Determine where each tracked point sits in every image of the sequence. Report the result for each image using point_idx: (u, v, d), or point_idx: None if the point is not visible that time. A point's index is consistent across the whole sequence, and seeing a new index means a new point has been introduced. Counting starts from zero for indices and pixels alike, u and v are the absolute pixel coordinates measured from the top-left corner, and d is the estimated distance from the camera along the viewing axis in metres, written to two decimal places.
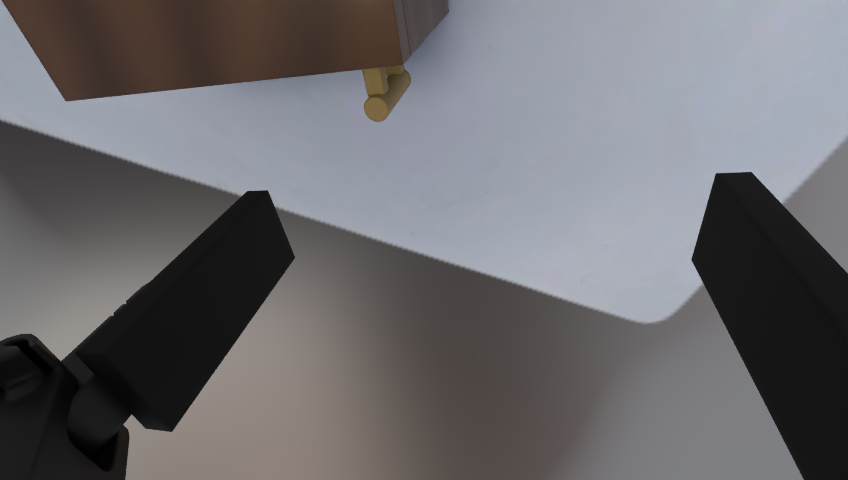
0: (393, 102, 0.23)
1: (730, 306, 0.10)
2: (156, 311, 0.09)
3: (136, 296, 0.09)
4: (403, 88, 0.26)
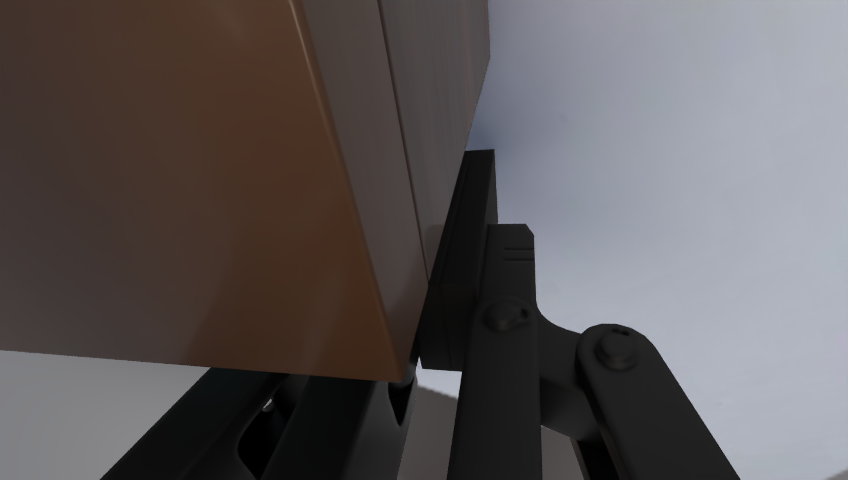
0: None
1: None
2: None
3: None
4: None
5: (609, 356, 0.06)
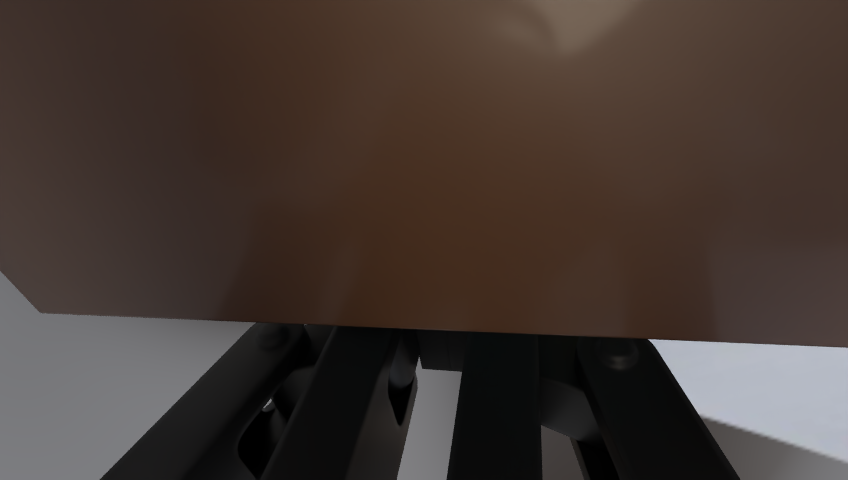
0: None
1: None
2: None
3: None
4: None
5: (609, 356, 0.06)
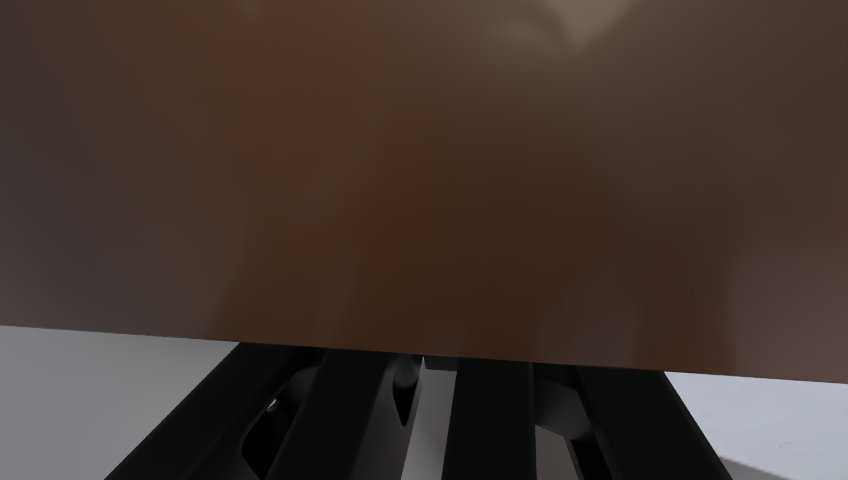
0: None
1: None
2: None
3: None
4: None
5: None
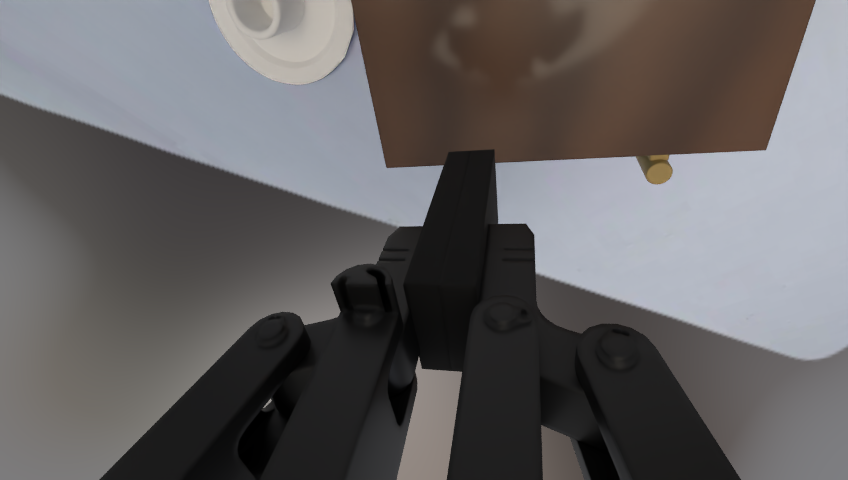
0: None
1: None
2: None
3: (420, 238, 0.10)
4: None
5: (609, 356, 0.06)
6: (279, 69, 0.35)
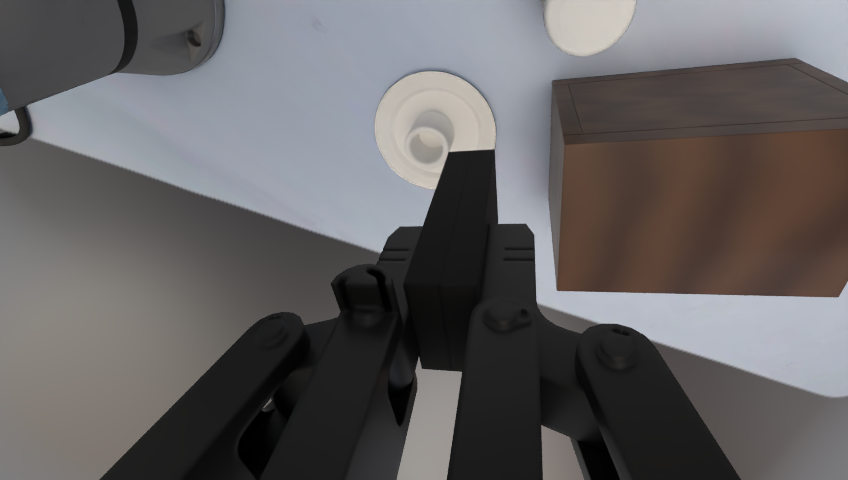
0: None
1: None
2: None
3: (421, 238, 0.10)
4: None
5: (610, 356, 0.06)
6: (423, 178, 0.44)
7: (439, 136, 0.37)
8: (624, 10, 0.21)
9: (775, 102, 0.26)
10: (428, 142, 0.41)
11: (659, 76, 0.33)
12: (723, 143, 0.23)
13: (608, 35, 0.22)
